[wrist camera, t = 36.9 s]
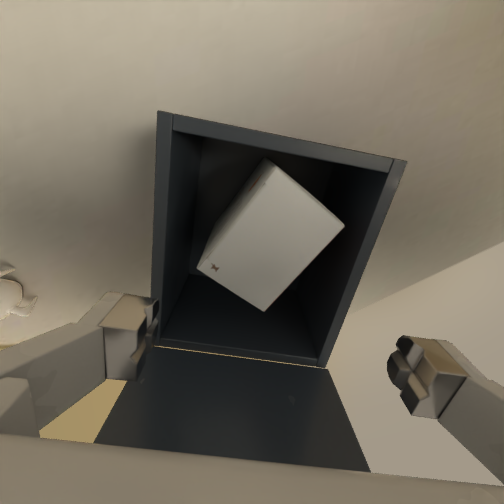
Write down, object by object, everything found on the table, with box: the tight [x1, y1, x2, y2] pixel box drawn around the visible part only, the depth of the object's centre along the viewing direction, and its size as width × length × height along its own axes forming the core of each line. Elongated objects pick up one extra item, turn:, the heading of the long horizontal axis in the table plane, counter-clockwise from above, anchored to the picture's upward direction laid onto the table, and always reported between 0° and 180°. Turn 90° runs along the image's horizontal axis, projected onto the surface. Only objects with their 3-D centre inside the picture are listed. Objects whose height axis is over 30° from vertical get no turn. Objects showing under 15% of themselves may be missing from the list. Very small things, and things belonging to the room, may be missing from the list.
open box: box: [151, 110, 407, 368], centre depth 22 cm, size 16×14×11 cm
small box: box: [197, 157, 345, 312], centre depth 21 cm, size 8×6×10 cm
